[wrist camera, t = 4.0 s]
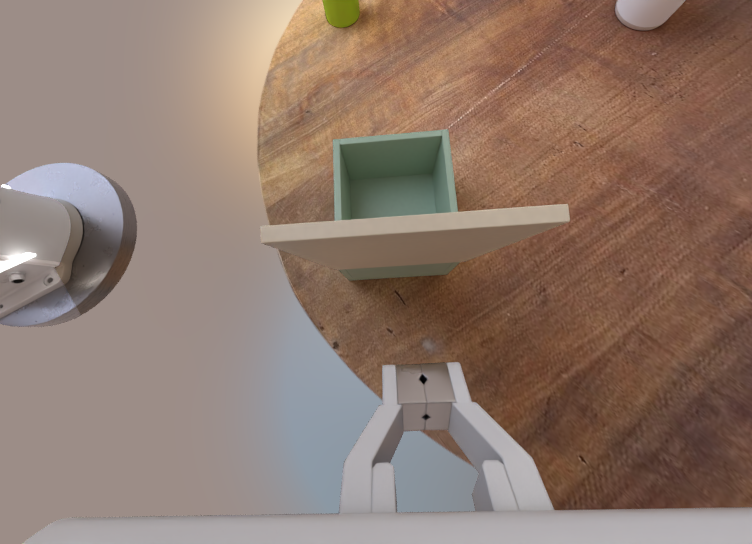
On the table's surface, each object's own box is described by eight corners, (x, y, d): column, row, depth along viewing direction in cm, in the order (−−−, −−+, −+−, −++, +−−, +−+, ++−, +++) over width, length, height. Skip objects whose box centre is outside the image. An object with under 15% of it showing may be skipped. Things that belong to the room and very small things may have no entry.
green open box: (345, 178, 41) (332, 139, 32) (436, 171, 40) (448, 129, 31) (348, 280, 38) (335, 267, 29) (447, 274, 37) (463, 258, 28)
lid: (259, 225, 12) (260, 243, 12) (568, 203, 12) (570, 221, 12) (334, 262, 29) (334, 270, 29) (464, 254, 28) (465, 261, 28)
